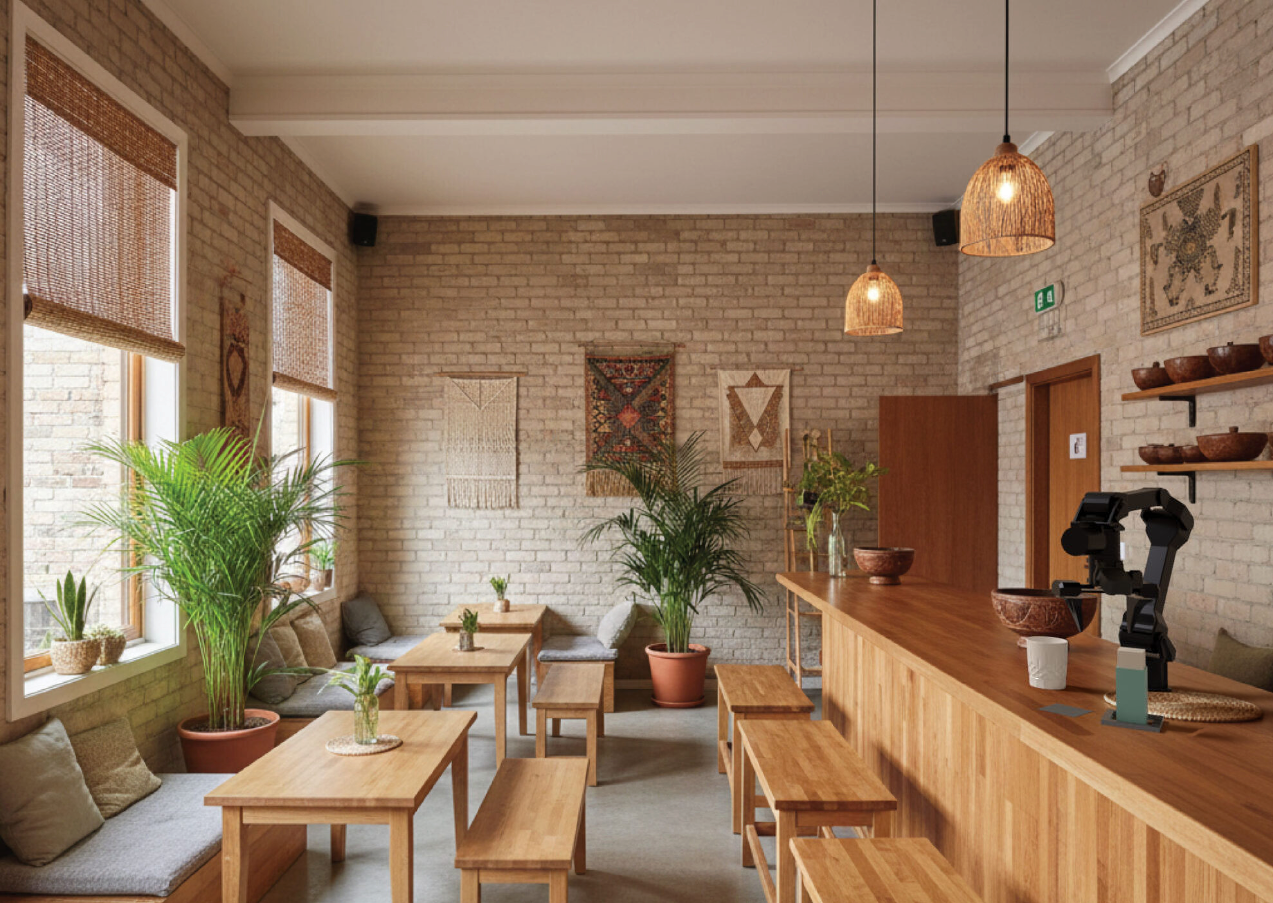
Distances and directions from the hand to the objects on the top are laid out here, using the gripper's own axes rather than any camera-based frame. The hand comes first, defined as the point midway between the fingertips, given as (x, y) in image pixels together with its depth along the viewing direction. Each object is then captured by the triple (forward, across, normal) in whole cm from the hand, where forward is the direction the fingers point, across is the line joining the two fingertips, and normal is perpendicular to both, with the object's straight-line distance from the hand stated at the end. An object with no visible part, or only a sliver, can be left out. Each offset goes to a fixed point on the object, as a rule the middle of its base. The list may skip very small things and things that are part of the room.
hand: (1105, 632), depth 175 cm
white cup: (+13, -9, +7) cm, 18 cm away
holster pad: (+13, -12, -13) cm, 22 cm away
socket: (+13, -3, -20) cm, 24 cm away
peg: (+13, -3, -20) cm, 24 cm away
